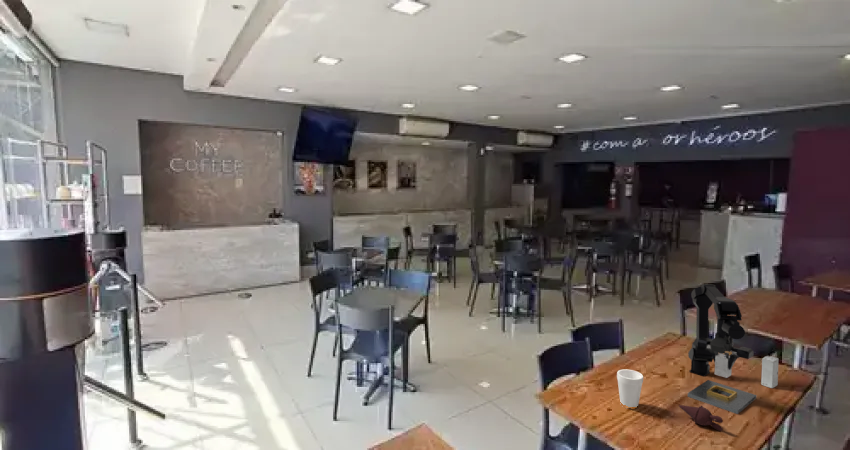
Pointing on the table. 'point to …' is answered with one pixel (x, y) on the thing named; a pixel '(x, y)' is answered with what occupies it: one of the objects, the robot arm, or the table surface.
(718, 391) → the grey peg insertion board
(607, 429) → the table surface
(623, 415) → the table surface
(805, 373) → the table surface
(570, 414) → the table surface
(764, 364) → the skincare box
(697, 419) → the icecream
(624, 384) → the foam cup
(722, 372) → the brushed metal block
